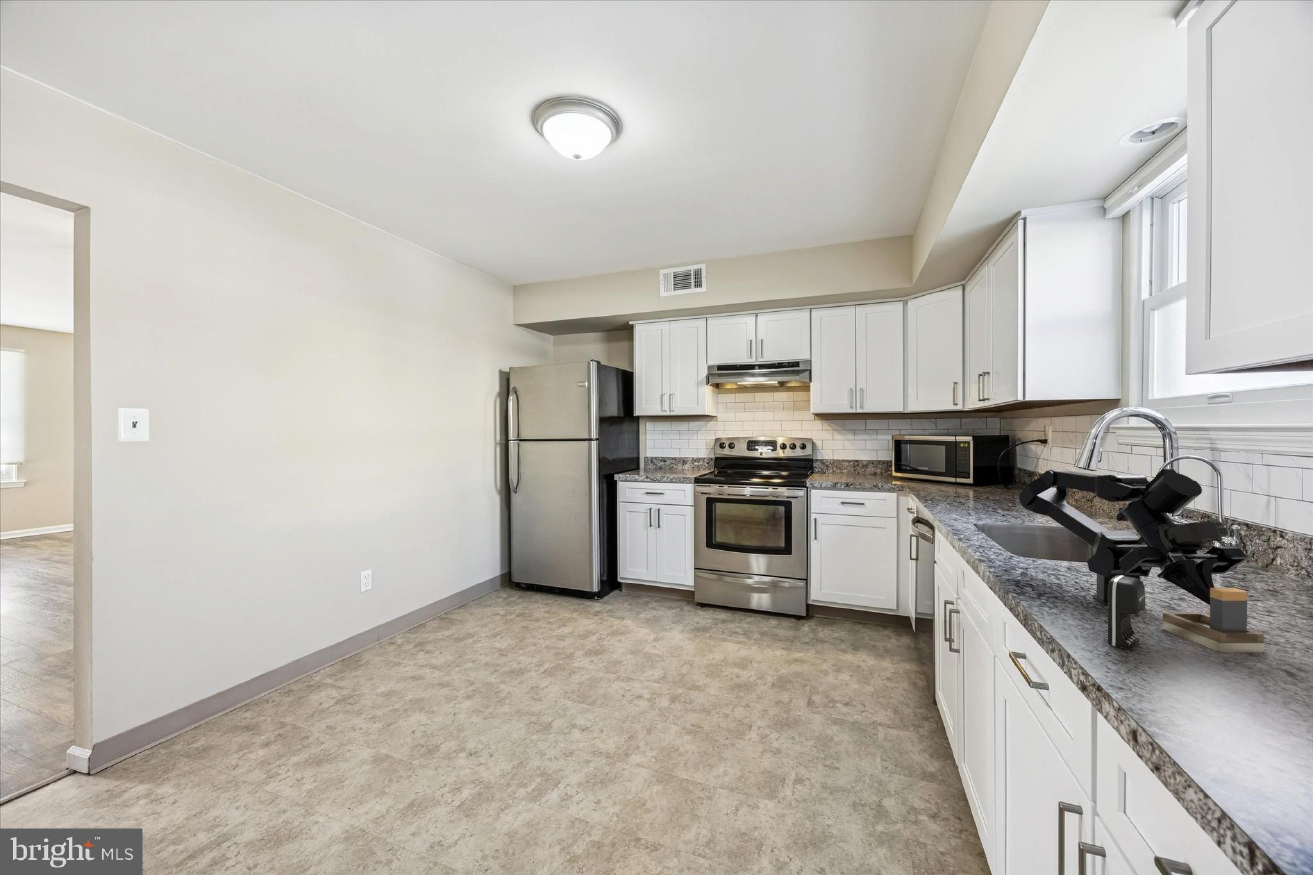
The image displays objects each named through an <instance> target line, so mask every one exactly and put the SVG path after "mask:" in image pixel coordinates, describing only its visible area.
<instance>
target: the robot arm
mask: <svg viewBox="0 0 1313 875" xmlns="http://www.w3.org/2000/svg"><path fill="white" fill-rule="evenodd" d="M1069 489H1071V490H1076V491H1083V492H1087V493H1092V494H1095V496H1096V497H1097V498H1099V499H1101V500H1104V501H1105V502H1109V503H1128V504H1127V505H1126V506H1125V507H1119V508H1118V512H1117V514H1116V521H1117V522H1129V523H1130V524H1131V526H1132V527H1133V528H1134V530H1135V531H1136V533H1138V535H1139V536H1140V537H1139V536H1137V535H1136V533H1134V532H1132V531H1131V530H1109V529H1108V528H1106V527H1105V526H1103V525H1102V524H1100V523H1098V522H1096V521H1095V520H1094V519H1092V518H1090V517H1088V516H1087V515H1086V514H1084V513H1082V512H1081V511H1079V510H1078V509H1076V508H1074V507H1073V506H1072V505H1069V503H1067V499H1066V498H1068V497H1069V495H1070V492H1069V491H1070V490H1069ZM1202 493H1203V488H1202V486H1201V484H1199V482H1198V481H1196V480H1194V479H1192V478H1191V477H1189V476H1188V475H1185V474H1182V473H1178V472H1177V471H1176V470H1175V469H1174V468H1161V469H1160V470H1159V471H1158V472H1157V474H1156V475H1155V476H1154V477H1153V478H1152V479H1151V480H1148V477H1146V476H1145V475H1142V474H1103V475H1101V474H1094V473H1086V472H1079V471H1072V470H1069V469H1048V470H1046V471H1044V472H1043V473H1042V475H1041V476H1040V477H1038V478H1036V479H1035V480H1033V481H1031V482H1028V484H1026V485H1025V486H1024V488H1023V489H1022V491H1020V493H1019V496H1018V499H1019V503H1020V505H1021V506H1022V508H1023V509H1025V510H1027V511H1029V512H1032V513H1033V514H1037V515H1041V516H1046V517H1049V518H1050V519H1052V520H1053V521H1055V522H1056V523H1057V524H1058V525H1060V526H1062V527H1063V528H1065V529H1066V530H1067V531H1069V532H1070V533H1072V534H1073V535H1074V536H1076V537H1077V538H1079V539H1081V541H1083V542H1085V543H1086V544H1088V545H1089V546H1091V547H1092V549H1093V555H1092V556H1091V557H1090V558H1089V559H1088V560H1087V561H1086V563H1087V568H1088V571H1089V572H1091V573H1093V574H1096V593H1095V594H1092V596H1091V597H1092V598H1093V599H1095V600H1097V601H1098V602H1100V603H1102V604H1104V605H1105V606H1107V607H1108V584H1109V581H1110V580H1111V579H1112V578H1113V577H1115V576H1117V575H1120V576H1121V575H1123V576H1126V577H1132V578H1137V579H1139V580H1141V577H1145V578H1149V576H1150V574H1151V571H1152V568H1153V566H1158V567H1159V570H1160V572H1159V573H1158V574H1156V576H1157V578H1158V579H1163V580H1165V581H1167V582H1169V583H1170V584H1172V585H1174V586H1176V587H1179V589H1182V590H1184V591H1185V592H1187V593H1189V594H1190V595H1192V596H1194V597H1195V598H1197V599H1198V600H1200V601H1202V602H1203V603H1205V604H1206V605H1208V606H1210V588H1215V585H1214V580H1213V575H1225V574H1227V573H1229V572H1230V571H1232V570H1233V569H1235V568H1237V567H1238V566H1241V564H1242V563H1243V564H1244V562H1246V561H1247V560H1250V559H1249V556H1248V555H1247V554H1246V553H1245V552H1244V551H1243V550H1242V549H1241V547H1236V546H1213V547H1212V548H1210V549H1209V550H1207V551H1205V553H1198V551H1202V550H1203V549H1204V548H1206V545H1205V544H1206V543H1211V542H1215V541H1216V542H1221V541H1223V540H1224V539H1223V538H1224V537H1227V536H1228V530H1227V528H1226V526H1225V525H1224V524H1223V523H1222V522H1221V521H1220V520H1219V519H1217V518H1216V519H1214V518H1213V519H1212V518H1210V519H1206V520H1201V521H1200V522H1197V521H1196V522H1187V523H1175V522H1174V521H1173V519H1172V517H1171V516H1170V515H1175V514H1177V513H1180V512H1181V511H1182V510H1183V509H1185V508H1186V507H1187V506H1188V505H1189V504H1190V503H1191V502H1193V501H1194V500H1196V498H1198V497H1199V496H1200V495H1201V494H1202ZM1144 609H1146V607H1145V608H1144ZM1144 609H1143V610H1144Z"/></svg>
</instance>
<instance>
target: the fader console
mask: <svg viewBox="0 0 1313 875" xmlns="http://www.w3.org/2000/svg"><path fill="white" fill-rule="evenodd" d="M1162 630H1165V631H1168V632H1169V633H1172V634H1174V635H1176V636H1180V637H1182V638H1184V639H1187V640H1189V641H1192V642H1194V643H1196V644H1200V645H1201V644H1202V646H1204V645H1205V646H1204V647H1206V648H1208V647H1210V648H1209V649H1211V648H1212V649H1211V650H1213V649H1215V650H1214V651H1216V650H1217V651H1216V652H1218V651H1220V652H1219V653H1226V652H1225V651H1231V652H1230V653H1264V650H1265V649H1264V648H1265V647H1264V645H1265V641H1264V640H1265V638H1264V637H1265V634H1264V633H1261V632H1259V631H1255V630H1253V629H1249V628H1248V627H1247V632H1219V631H1216V630H1214V629H1211V628H1210V614H1207V613H1205V612H1198V611H1197V612H1162Z"/></svg>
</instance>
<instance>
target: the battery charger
mask: <svg viewBox="0 0 1313 875" xmlns="http://www.w3.org/2000/svg"><path fill="white" fill-rule="evenodd" d="M1144 608H1145V609H1146V589H1145V584H1144V582H1143V581H1142V580H1141V579H1140V580H1139V579H1137V578H1132V577H1126V576H1123V575H1121V576H1120V575H1117V576H1115V577H1113V578H1112V579H1111V580H1110V581H1109V584H1108V606H1107V644H1108V645H1109V646H1112V647H1115V648H1117V647H1118V648H1121V649H1126V650H1133V649H1134V648H1135V647H1136V646H1137V645H1138V644H1139V643H1140V640H1141V638H1140V637H1139V636H1137V634H1136V632H1135V631H1134V629H1133V627H1132V618H1131V617H1132V616H1134V615H1136V616H1137V615H1138V614H1139V613H1141V612H1142V611H1143V610H1144Z"/></svg>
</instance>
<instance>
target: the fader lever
mask: <svg viewBox="0 0 1313 875" xmlns="http://www.w3.org/2000/svg"><path fill="white" fill-rule="evenodd" d="M1209 615H1210V628H1211V629H1214V630H1216V631H1219V632H1247V628H1248V591H1246V590H1243V589H1240V588H1237V587H1214V588H1210V605H1209Z"/></svg>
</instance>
